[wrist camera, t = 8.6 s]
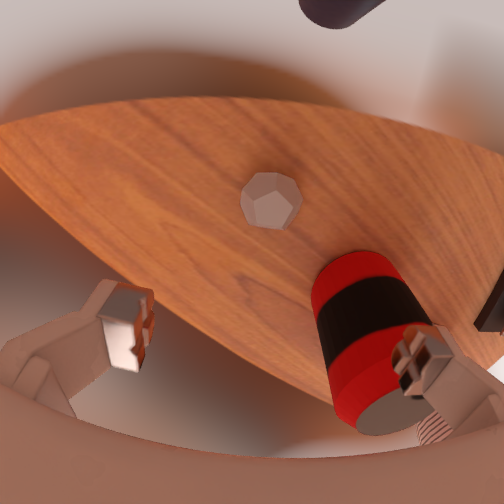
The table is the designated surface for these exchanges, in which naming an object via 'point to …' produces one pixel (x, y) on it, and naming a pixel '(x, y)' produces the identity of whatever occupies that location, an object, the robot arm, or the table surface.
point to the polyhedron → (270, 200)
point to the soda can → (367, 341)
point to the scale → (493, 310)
